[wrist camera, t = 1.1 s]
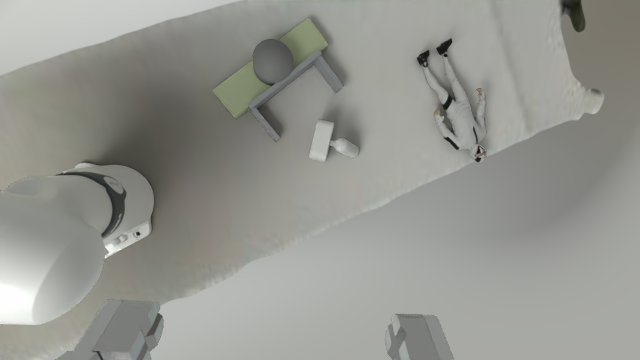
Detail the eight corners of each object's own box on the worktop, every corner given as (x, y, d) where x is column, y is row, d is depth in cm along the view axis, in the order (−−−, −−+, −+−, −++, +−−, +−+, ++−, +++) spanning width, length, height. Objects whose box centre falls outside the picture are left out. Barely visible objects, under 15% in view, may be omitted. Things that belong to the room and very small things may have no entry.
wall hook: (354, 170, 69) (358, 167, 59) (311, 160, 70) (308, 156, 60) (362, 136, 69) (367, 128, 59) (319, 126, 70) (317, 117, 60)
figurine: (462, 31, 68) (514, 148, 71) (448, 42, 74) (496, 149, 77) (412, 57, 67) (466, 174, 70) (402, 66, 73) (452, 173, 76)
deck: (263, 152, 65) (263, 150, 59) (212, 91, 63) (206, 82, 56) (350, 81, 69) (359, 72, 62) (305, 20, 66) (310, 5, 60)
